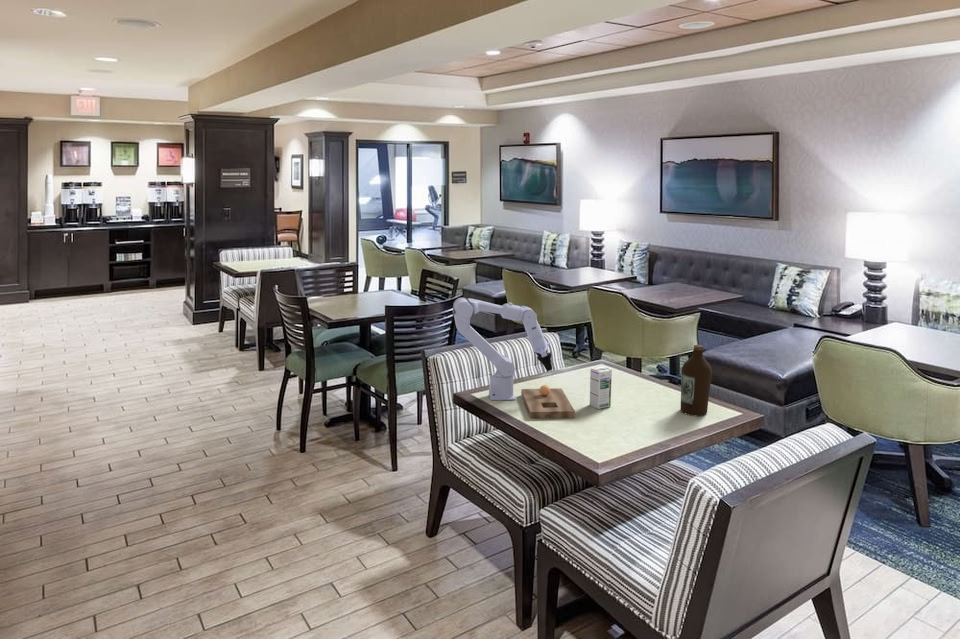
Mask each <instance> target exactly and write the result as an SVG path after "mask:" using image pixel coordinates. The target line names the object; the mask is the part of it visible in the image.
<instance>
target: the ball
mask: <svg viewBox="0 0 960 639" xmlns="http://www.w3.org/2000/svg"><path fill="white" fill-rule="evenodd" d="M539 389H540V393H541V394H542V395H544V396H546V395H548V394H549V393H550V389H551V388H550V386H548V385H546V384H542V385H541V386H540V387H539Z"/></svg>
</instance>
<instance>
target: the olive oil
mask: <svg viewBox="0 0 960 639" xmlns="http://www.w3.org/2000/svg"><path fill="white" fill-rule="evenodd" d="M692 350H693V351H692V353H693V354H692V356H691V357H690V358H688V359H687V360H685V361H684V363H683V364H682V367H681V371H680V375H681V376H680V409H679V410H680V412H681V411H682V412H681V413H683V414H685V413H686V414H685V415H688V414H689V416H693V415H702V416H705V415H707V414H708V408H709V407H708V406H709V398H710V391H711V384H712V376H713V370H712V366H711V365H710V363H709V362H708V361H707V360H706V359H705V357H704V356H703V354H704V345H702V344H695V345H693V349H692ZM706 413H707V414H706ZM704 414H705V415H704Z"/></svg>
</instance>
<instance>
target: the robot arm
mask: <svg viewBox="0 0 960 639" xmlns="http://www.w3.org/2000/svg"><path fill="white" fill-rule="evenodd" d="M479 312H485V313H486V312H487V313H492V314H498V315H500V316H501V318H502V319H506V320H510V321H517V322H522V323H523V326H524V330H525V332H526V336H527V338H528V340H529V342H530V346H531V347H532V352H533V353H535V355H536V359H537V360H538V361H539V362H540V363H541V364H542V366H543V367H544V369H545V370H546V371H547V372H551V371H553V365H552V352H551V351H550V352H548V347H549V346H550V345H551V343H550V342H547V341H546V339H545V336H544V333H543V330H542V329H541V326H540V323H539V322H538V319H537V318H538V314H537V313H536V312H535V310H533V309H532V308H531V307H528V306H527V305H526V306H525V305H516V304H514V303H512V302H510V301H509V302H508V303H504V304H502V305H500V304H495V303H491V302H487V301H483V300H479V299H476V298H475V299H474V298H469V297H468V298H466V297H458V298H457V299H455V300H454V302H453V306H452V315H453V318H454V322H455V327H456V329H457V331H458V332H459V334H461V335H462V336H463V337H464V338H465V339H466V340H467V341H469V343H470V344H472V345H473V347H475V348H476V349H477V350H478V351H479V352H480V353H481V354H483V356H484V357H486V359H487V360H488V361H490V363H491V364H492V365H493V366H494V368H495V369H496V371H495V373H494V374H492V375H489V388H488V394H489V398H490V400H491V401H515V400H516V396H515V393H514V379H515V378H514V375H515V374H514V373H515V370H516V368H515V365H514V363H513V362H511V360H510V358H509V356H507V355H503V354H501V353H500V352H499V351H498V350H497V349H495V348H494V347H493V346H492V345H491V344H490V343H489V342H488V341H487V339H485V338H484V337H482V335H481V334H479V332H477V331H476V329H474V328H473V327H472V326H471V318H472V315H473V314H474V315H477V314H478V313H479Z"/></svg>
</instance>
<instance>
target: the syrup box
mask: <svg viewBox="0 0 960 639" xmlns="http://www.w3.org/2000/svg"><path fill="white" fill-rule="evenodd" d="M589 371H590V373H589V374H590V377H589V378H590V379H589V405H590V406H591V407H593V408H595V409H597V410H600V409H604V408H605V409H606V408H611V405H612V404H611V403H612V372H613V370H612V369H610V368H608V367H605V366H600V367H599V366H598V367H594V368H590V370H589Z"/></svg>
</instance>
